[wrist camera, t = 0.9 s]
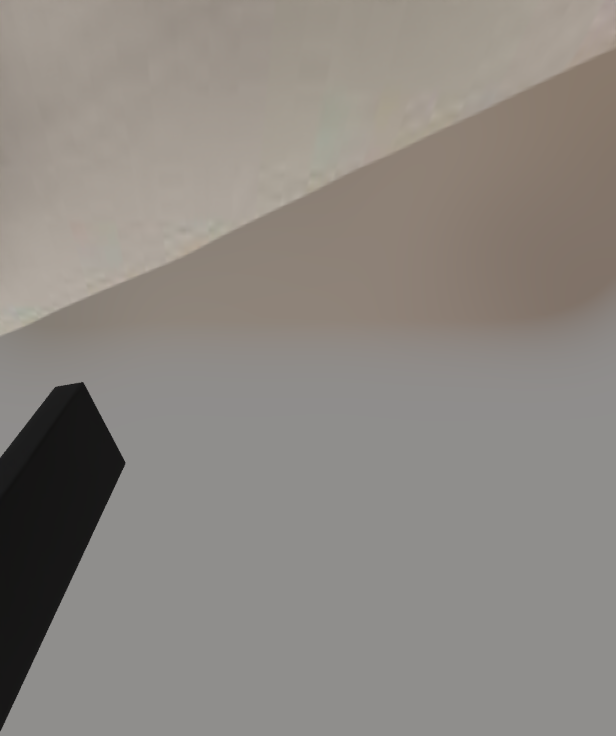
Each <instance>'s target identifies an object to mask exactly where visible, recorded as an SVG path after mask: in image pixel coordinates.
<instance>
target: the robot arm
mask: <svg viewBox="0 0 616 736" xmlns="http://www.w3.org/2000/svg"><path fill="white" fill-rule="evenodd" d="M124 465H125V461H124V459H123V457H122V455H121V453H120V451H119V449H118V448H117V446H116V444H115V442H114V440H113V438H112V436H111V434H110V432H109V431H108V428H107V427H106V425H105V423H104V421H103V419H102V417H101V415H100V414H99V411H98V409H97V408H96V406H95V404H94V402H93V400H92V398H91V396H90V394H89V392H88V390H87V388H86V387H85V385H84V383H83V382H81V383H75V384H70V385H64V386H58V387H55V388H54V389H53V391H52V392H51V393H50V394H49V396H48V397H47V398H46V400H45V401H44V402H43V403H42V405H41V406H40V407H39V409H38V410H37V411H36V412H35V414H34V415H33V416H32V418H31V419H30V420H29V422H28V423H27V424H26V425H25V427H24V428H23V429H22V430H21V432H20V433H19V434H18V436H17V437H16V438H15V440H14V441H13V442H12V443H11V445H10V446H9V447H8V449H7V450H6V451H5V452H4V454H3V455H2V456H1V458H0V731H1V729H2V727H3V725H4V723H5V720H6V718H7V716H8V714H9V712H10V710H11V708H12V705H13V703H14V701H15V699H16V697H17V695H18V693H19V690H20V688H21V686H22V684H23V682H24V680H25V677H26V675H27V673H28V671H29V669H30V667H31V665H32V662H33V660H34V658H35V656H36V654H37V652H38V650H39V647H40V645H41V643H42V641H43V639H44V637H45V635H46V633H47V630H48V628H49V626H50V624H51V622H52V620H53V618H54V615H55V613H56V611H57V609H58V607H59V605H60V603H61V600H62V598H63V596H64V594H65V592H66V590H67V588H68V586H69V583H70V581H71V579H72V577H73V575H74V573H75V571H76V568H77V566H78V564H79V562H80V560H81V558H82V555H83V553H84V551H85V549H86V547H87V545H88V543H89V541H90V538H91V536H92V534H93V532H94V530H95V527H96V526H97V523H98V521H99V519H100V517H101V515H102V512H103V511H104V508H105V506H106V504H107V502H108V500H109V498H110V496H111V493H112V491H113V489H114V487H115V485H116V483H117V481H118V478H119V476H120V474H121V472H122V470H123V468H124Z"/></svg>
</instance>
